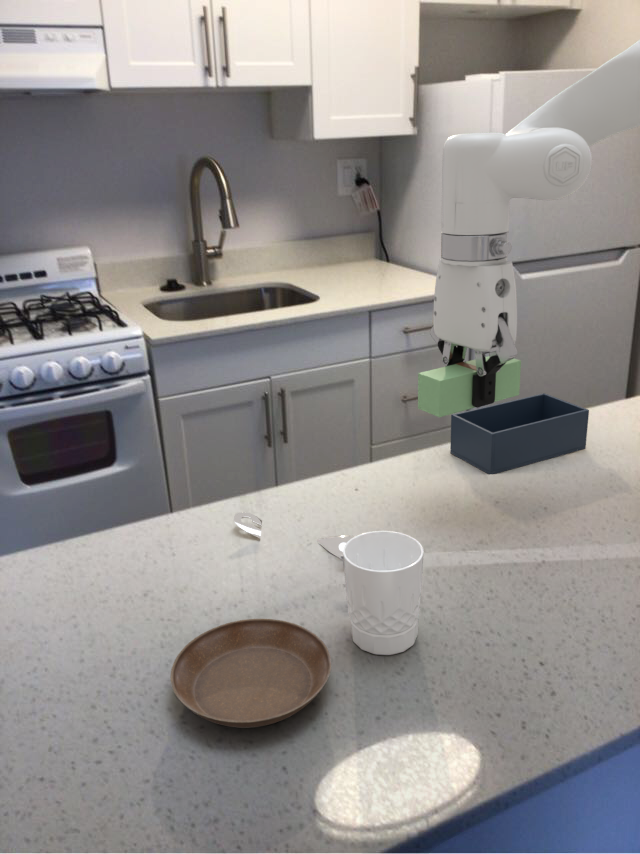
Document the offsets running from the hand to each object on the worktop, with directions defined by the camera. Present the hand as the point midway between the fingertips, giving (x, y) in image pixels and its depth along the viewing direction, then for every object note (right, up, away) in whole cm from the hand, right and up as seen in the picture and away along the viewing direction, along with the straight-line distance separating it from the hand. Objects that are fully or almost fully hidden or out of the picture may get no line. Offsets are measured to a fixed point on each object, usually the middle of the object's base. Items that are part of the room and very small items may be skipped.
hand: (469, 398), depth 93 cm
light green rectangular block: (0, 0, 0) cm, 1 cm away
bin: (+13, -7, +28) cm, 31 cm away
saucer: (-25, -28, -22) cm, 43 cm away
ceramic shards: (-21, -19, +2) cm, 28 cm away
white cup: (-12, -25, -15) cm, 32 cm away
